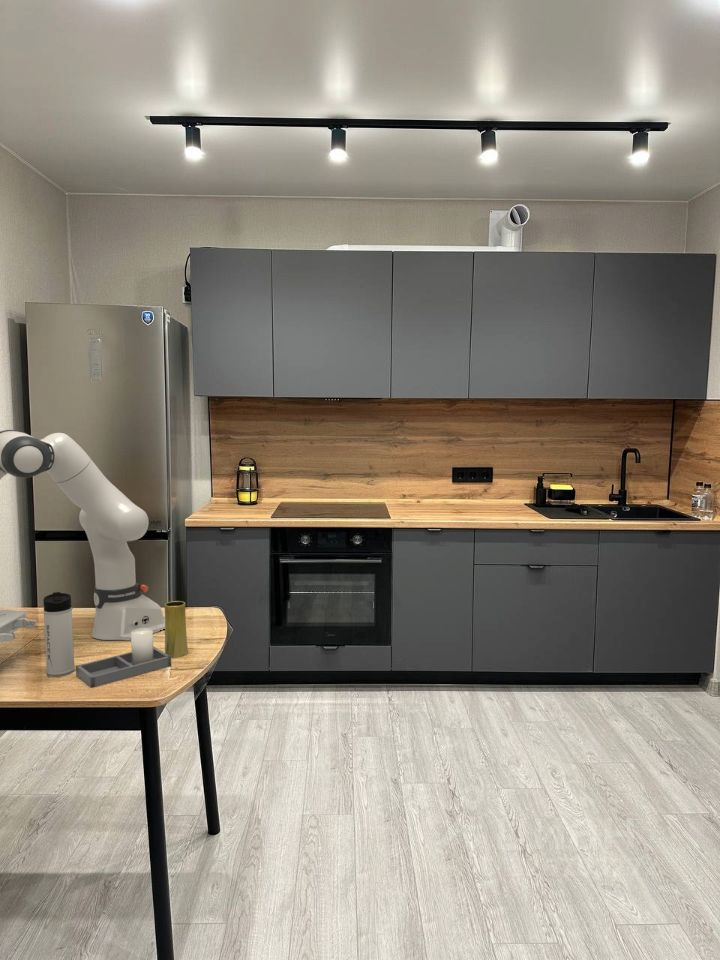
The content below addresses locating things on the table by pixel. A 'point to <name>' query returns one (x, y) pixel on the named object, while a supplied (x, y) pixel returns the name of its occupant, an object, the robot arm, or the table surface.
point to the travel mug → (58, 634)
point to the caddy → (119, 668)
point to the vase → (175, 629)
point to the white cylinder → (142, 645)
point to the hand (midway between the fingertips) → (24, 630)
